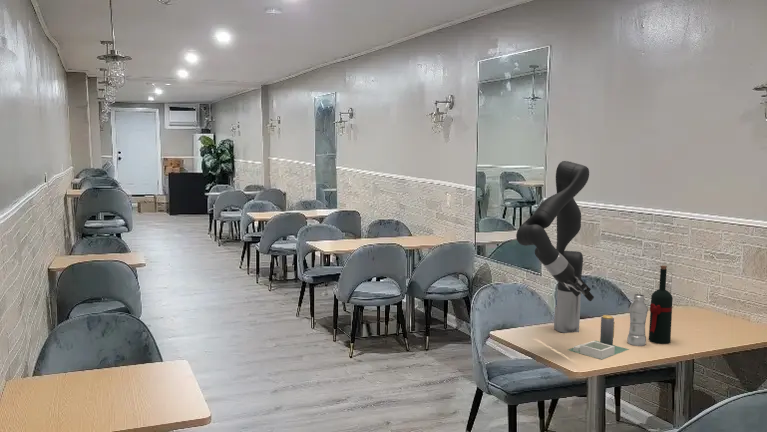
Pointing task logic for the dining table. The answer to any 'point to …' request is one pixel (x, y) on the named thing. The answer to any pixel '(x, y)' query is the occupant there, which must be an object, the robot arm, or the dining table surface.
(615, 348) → the board
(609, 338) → the dark grey cylinder
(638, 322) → the plastic bottle
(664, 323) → the wine bottle
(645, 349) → the dining table surface
